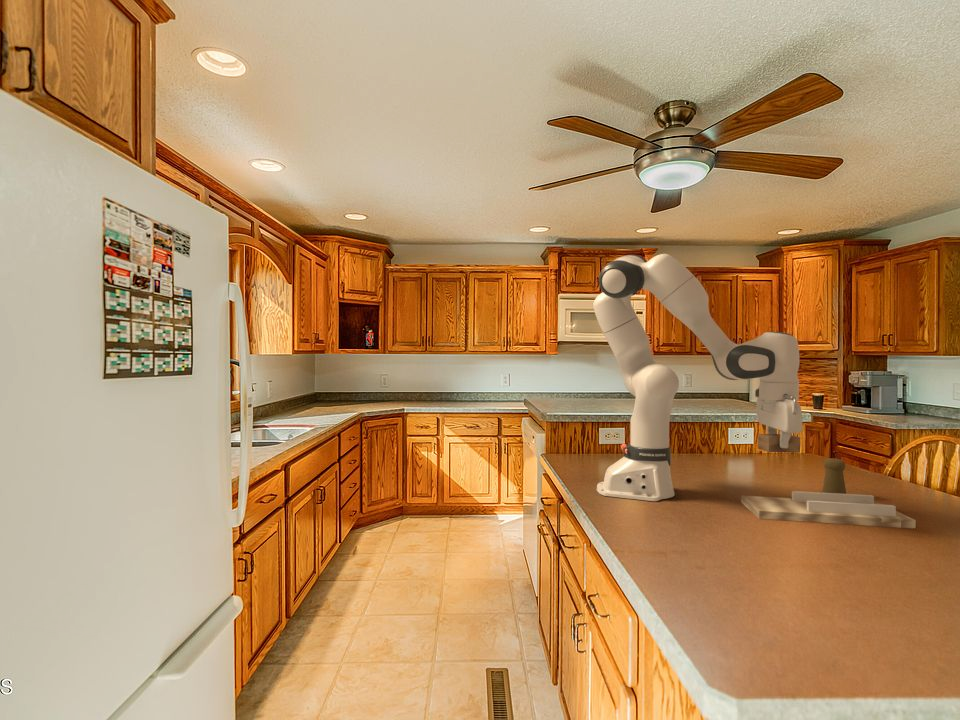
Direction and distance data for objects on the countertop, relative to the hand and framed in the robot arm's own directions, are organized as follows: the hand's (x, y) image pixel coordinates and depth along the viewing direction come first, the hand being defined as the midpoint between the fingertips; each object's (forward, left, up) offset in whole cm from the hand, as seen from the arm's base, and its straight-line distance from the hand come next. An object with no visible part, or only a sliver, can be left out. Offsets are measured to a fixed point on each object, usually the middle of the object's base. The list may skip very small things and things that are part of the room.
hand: (777, 445), depth 128 cm
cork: (+22, +20, -18) cm, 35 cm away
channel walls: (+15, 0, -16) cm, 21 cm away
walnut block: (0, 0, -1) cm, 1 cm away
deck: (+10, 0, -18) cm, 20 cm away
